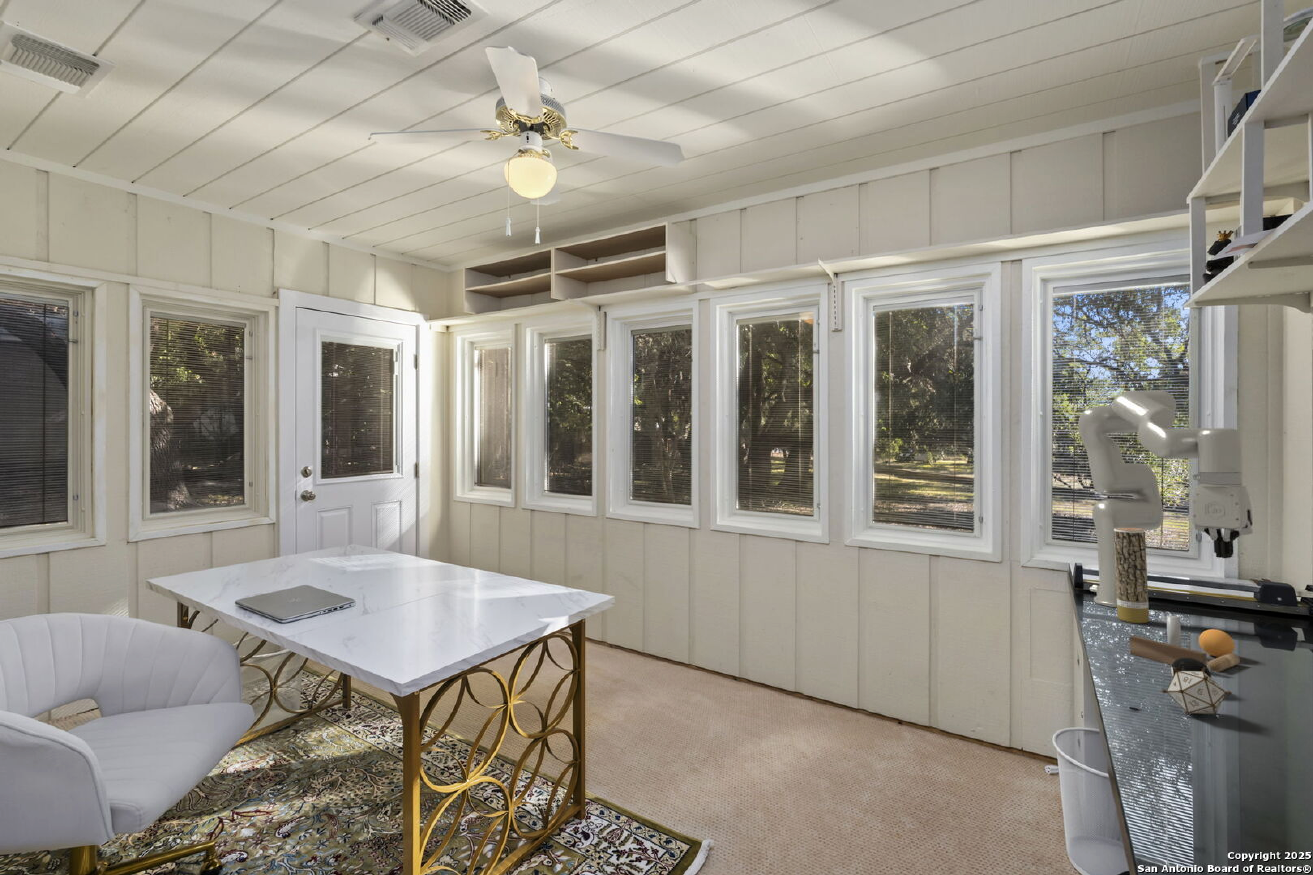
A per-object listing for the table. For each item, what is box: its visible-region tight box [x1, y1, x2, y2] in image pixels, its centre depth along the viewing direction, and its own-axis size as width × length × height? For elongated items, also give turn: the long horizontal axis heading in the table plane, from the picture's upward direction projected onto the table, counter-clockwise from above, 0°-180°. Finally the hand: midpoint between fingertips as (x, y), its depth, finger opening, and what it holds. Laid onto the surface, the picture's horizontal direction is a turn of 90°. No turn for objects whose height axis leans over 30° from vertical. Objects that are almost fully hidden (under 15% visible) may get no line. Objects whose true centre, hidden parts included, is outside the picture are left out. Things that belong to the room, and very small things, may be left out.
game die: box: [1160, 667, 1233, 716], centre depth 111 cm, size 9×8×10 cm
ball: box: [1198, 628, 1235, 658], centre depth 139 cm, size 6×6×6 cm
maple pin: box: [1207, 652, 1241, 673], centre depth 132 cm, size 2×2×8 cm
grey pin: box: [1166, 615, 1182, 647], centre depth 142 cm, size 2×2×8 cm
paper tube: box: [1114, 528, 1150, 624], centre depth 168 cm, size 7×7×25 cm
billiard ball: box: [1170, 658, 1212, 679], centre depth 122 cm, size 6×6×6 cm
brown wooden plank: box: [1129, 635, 1208, 667], centre depth 136 cm, size 2×14×4 cm, turn 23°
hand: (1224, 557), depth 146 cm, fingers closed
